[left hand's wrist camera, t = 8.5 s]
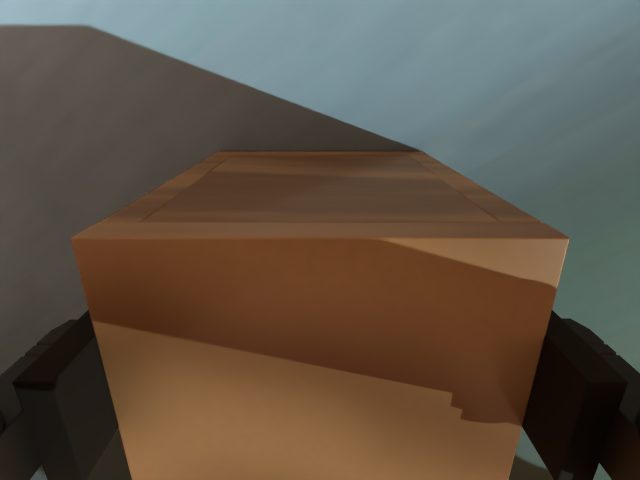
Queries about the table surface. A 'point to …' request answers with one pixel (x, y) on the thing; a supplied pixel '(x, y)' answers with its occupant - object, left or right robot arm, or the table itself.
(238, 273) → the cabinet
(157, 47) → the table surface
